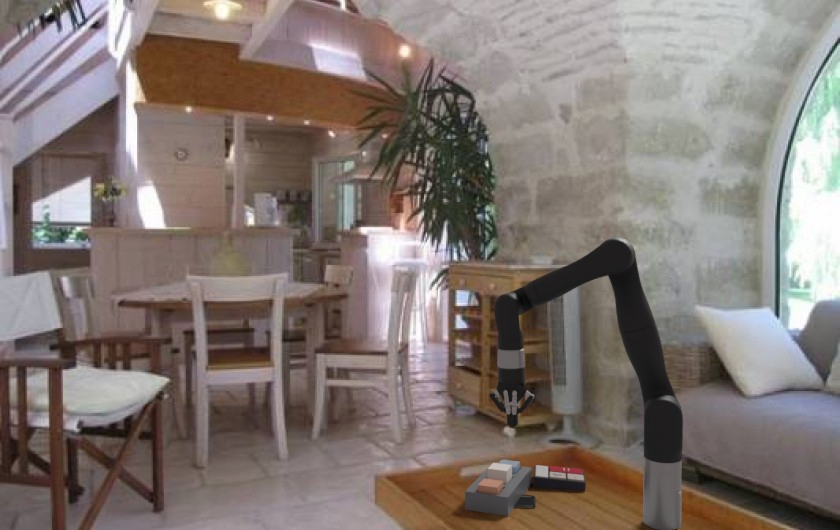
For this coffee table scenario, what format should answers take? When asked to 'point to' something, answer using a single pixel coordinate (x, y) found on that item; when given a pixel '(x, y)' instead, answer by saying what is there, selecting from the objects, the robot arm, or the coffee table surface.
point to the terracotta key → (490, 486)
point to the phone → (526, 501)
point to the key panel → (505, 499)
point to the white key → (500, 472)
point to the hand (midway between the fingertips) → (512, 427)
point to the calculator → (559, 478)
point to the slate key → (514, 465)
